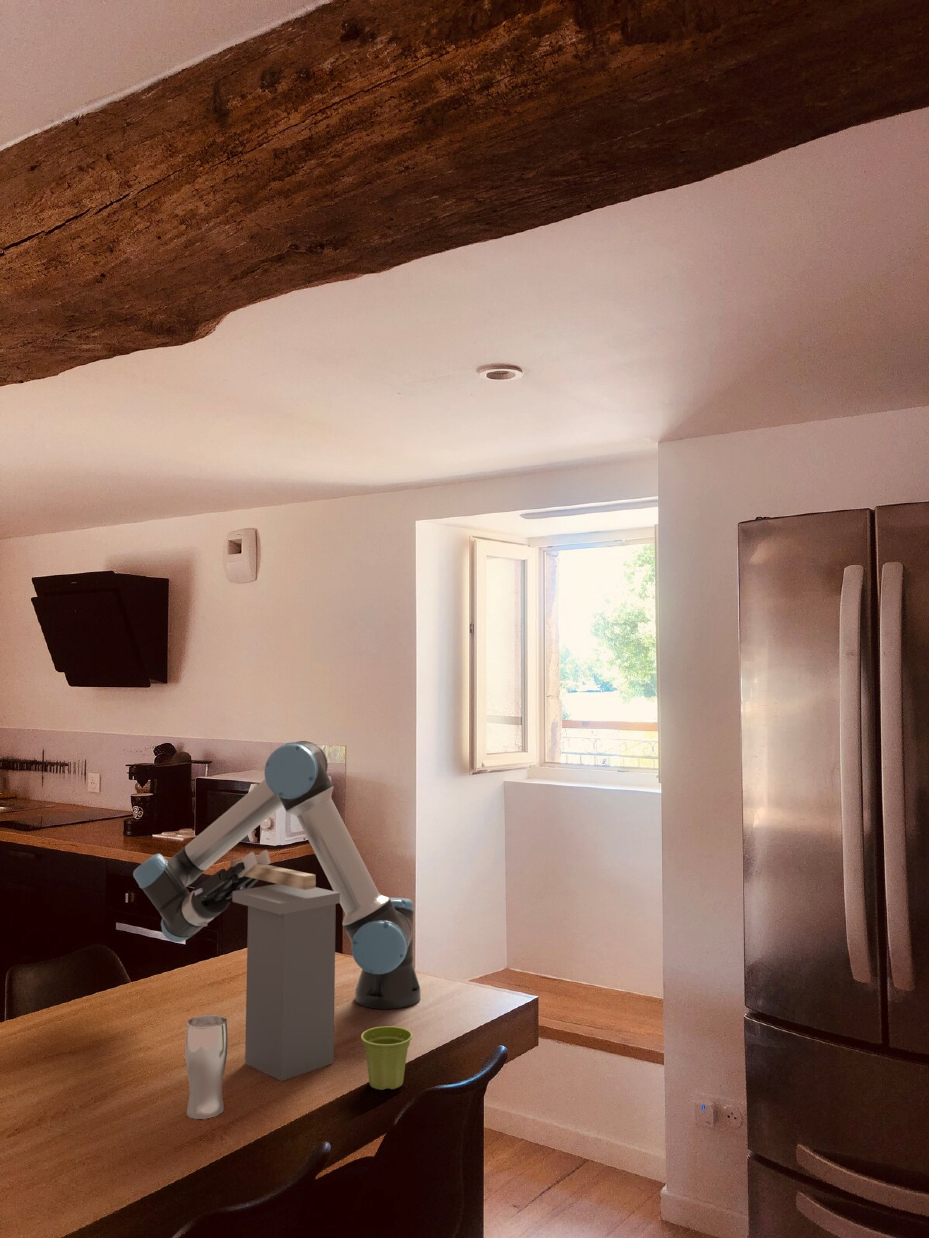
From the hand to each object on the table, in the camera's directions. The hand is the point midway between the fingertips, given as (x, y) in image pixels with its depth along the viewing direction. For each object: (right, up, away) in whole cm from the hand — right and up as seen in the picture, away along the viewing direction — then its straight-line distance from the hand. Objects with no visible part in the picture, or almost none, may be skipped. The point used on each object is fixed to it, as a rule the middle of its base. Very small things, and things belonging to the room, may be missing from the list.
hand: (260, 857), depth 195 cm
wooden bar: (+3, -4, -3) cm, 6 cm away
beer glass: (-3, -35, -32) cm, 48 cm away
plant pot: (+27, -36, -20) cm, 50 cm away
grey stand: (+6, -37, -9) cm, 39 cm away
